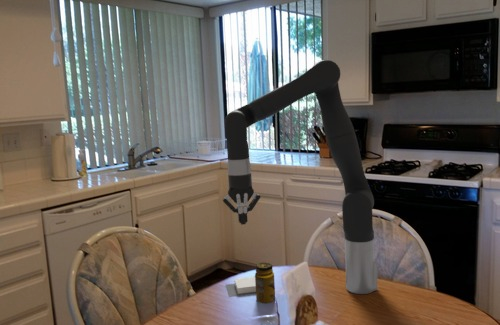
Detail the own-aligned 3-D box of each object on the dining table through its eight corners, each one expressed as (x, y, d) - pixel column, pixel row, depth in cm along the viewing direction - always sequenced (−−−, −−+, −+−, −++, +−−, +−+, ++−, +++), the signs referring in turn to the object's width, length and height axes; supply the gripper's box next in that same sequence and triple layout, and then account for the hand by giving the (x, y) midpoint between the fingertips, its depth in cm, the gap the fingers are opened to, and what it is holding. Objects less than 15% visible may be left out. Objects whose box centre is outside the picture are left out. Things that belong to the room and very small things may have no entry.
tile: (234, 284, 159) (257, 282, 161) (237, 294, 152) (261, 291, 153) (234, 278, 159) (257, 276, 160) (237, 288, 151) (261, 285, 153)
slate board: (262, 281, 162) (262, 280, 162) (268, 293, 152) (268, 291, 152) (225, 286, 160) (225, 284, 160) (229, 298, 150) (228, 296, 150)
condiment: (281, 301, 146) (279, 265, 144) (259, 309, 142) (256, 272, 140) (267, 294, 152) (265, 259, 150) (246, 301, 148) (243, 265, 146)
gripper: (257, 168, 155) (260, 219, 158) (218, 172, 153) (222, 223, 155) (261, 172, 148) (264, 224, 150) (220, 176, 146) (224, 229, 148)
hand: (243, 223), depth 153 cm, fingers closed
